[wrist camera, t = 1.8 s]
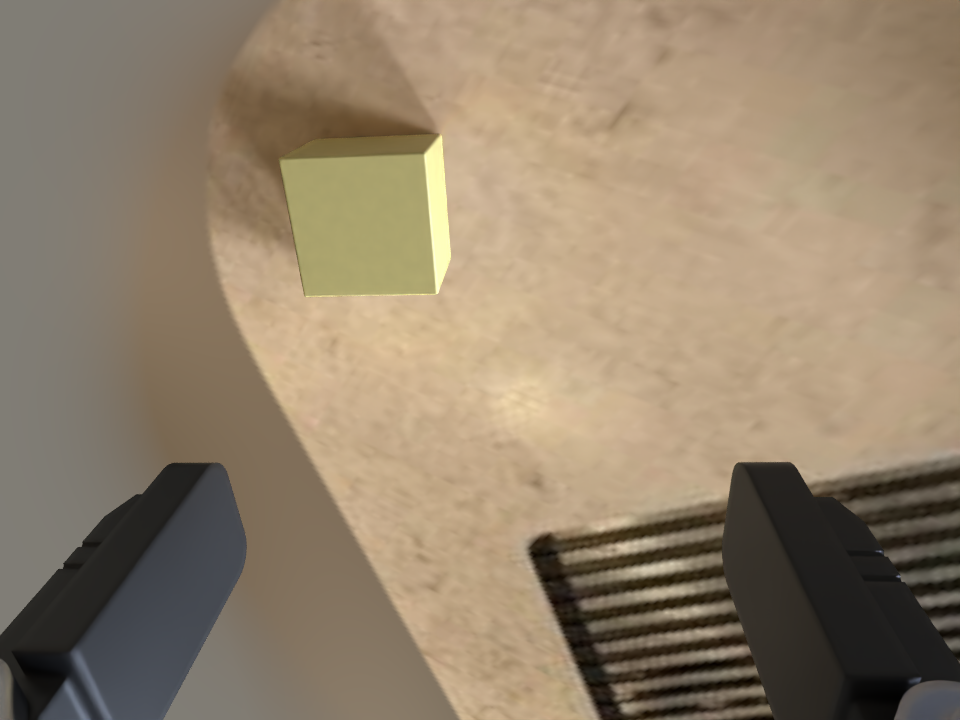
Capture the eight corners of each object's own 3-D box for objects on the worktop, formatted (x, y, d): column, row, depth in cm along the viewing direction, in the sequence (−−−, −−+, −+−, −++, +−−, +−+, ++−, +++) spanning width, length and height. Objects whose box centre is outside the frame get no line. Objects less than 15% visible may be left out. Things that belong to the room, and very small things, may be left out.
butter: (333, 262, 27) (303, 298, 24) (313, 138, 25) (277, 157, 21) (451, 259, 27) (438, 295, 23) (441, 133, 24) (425, 151, 21)
